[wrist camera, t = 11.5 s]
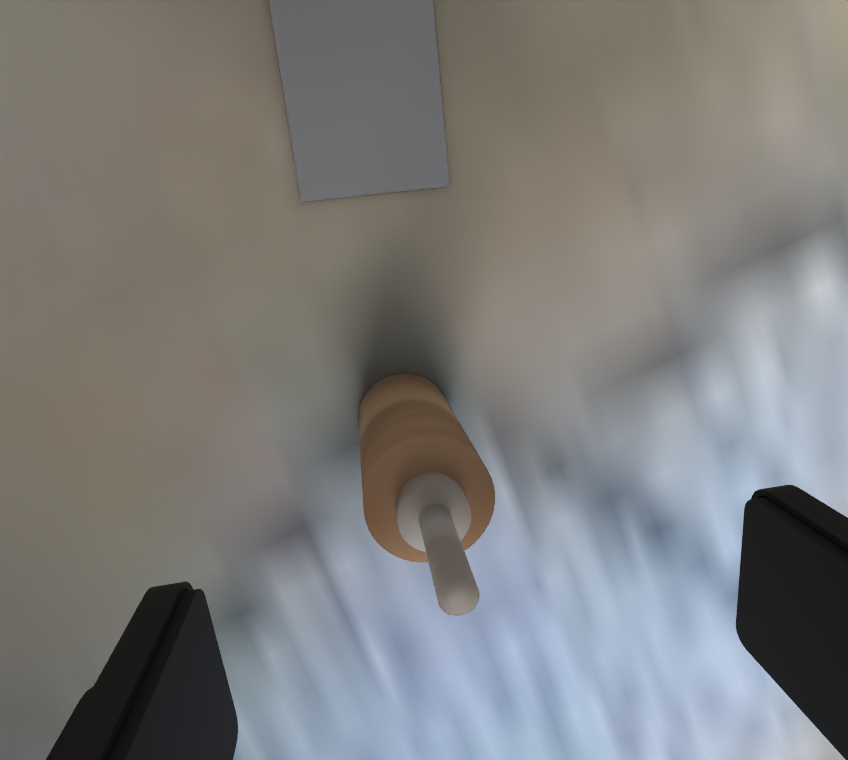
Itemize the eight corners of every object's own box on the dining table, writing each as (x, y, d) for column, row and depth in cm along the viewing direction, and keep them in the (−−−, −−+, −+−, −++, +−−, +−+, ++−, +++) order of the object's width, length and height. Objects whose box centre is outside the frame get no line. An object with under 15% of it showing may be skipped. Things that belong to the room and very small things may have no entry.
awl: (452, 451, 22) (548, 653, 11) (364, 464, 21) (381, 686, 11) (443, 367, 21) (540, 503, 10) (352, 379, 20) (357, 533, 10)
